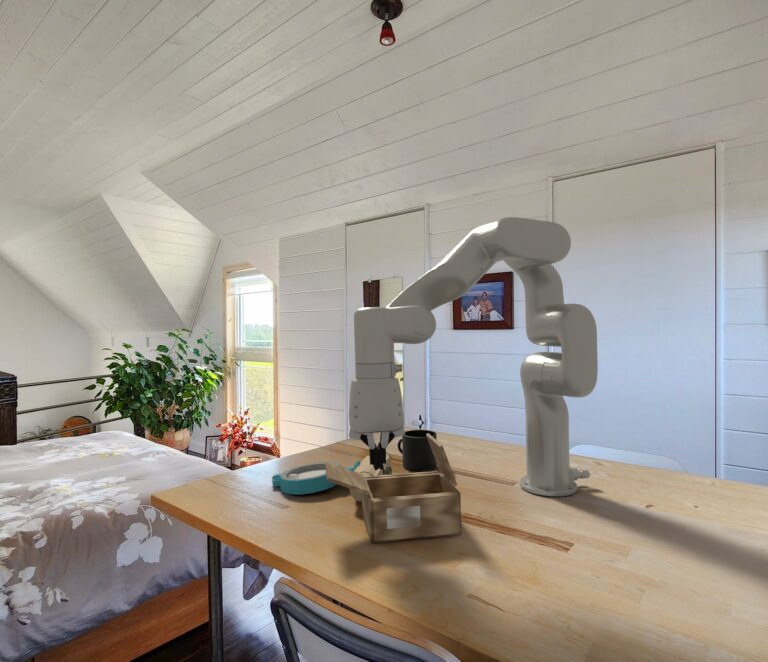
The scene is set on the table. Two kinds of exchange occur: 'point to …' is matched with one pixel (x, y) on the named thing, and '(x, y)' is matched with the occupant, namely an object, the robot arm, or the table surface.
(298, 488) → the butterfly valve
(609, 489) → the table surface
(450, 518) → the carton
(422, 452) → the mug
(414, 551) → the table surface
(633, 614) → the table surface
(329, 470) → the flap
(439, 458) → the flap
